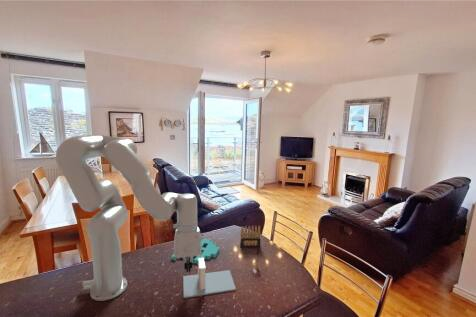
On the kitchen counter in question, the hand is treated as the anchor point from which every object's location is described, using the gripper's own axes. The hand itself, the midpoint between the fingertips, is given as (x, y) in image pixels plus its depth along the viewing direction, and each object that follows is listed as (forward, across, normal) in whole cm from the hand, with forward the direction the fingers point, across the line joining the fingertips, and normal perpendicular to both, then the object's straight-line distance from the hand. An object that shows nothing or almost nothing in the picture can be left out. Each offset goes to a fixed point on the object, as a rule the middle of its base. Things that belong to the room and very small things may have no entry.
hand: (188, 270), depth 91 cm
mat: (+7, +8, 0) cm, 11 cm away
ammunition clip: (+8, +33, +24) cm, 42 cm away
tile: (+7, +5, 0) cm, 8 cm away
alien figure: (+8, +6, +25) cm, 27 cm away
